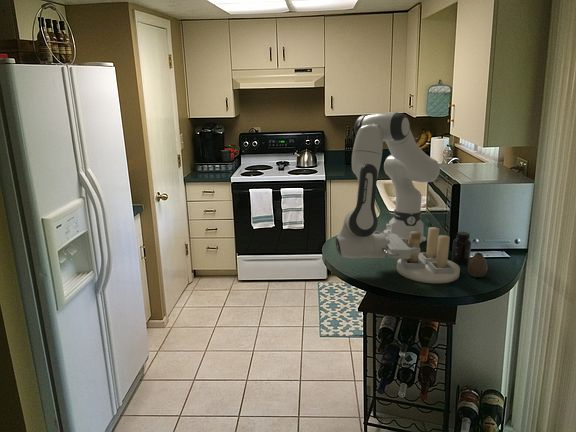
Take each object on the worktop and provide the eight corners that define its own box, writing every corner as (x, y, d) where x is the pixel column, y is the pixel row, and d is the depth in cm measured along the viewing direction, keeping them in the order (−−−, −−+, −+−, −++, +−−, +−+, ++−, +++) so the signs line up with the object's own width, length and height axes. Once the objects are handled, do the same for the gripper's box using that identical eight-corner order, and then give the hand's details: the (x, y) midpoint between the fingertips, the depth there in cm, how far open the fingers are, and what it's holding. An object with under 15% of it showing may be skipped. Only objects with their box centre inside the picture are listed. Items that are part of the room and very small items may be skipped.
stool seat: (389, 261, 195) (392, 224, 191) (445, 260, 197) (449, 223, 193) (407, 283, 173) (410, 242, 169) (469, 282, 175) (474, 241, 171)
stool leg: (405, 263, 186) (408, 231, 183) (416, 263, 186) (418, 231, 183) (408, 267, 182) (411, 234, 179) (419, 267, 182) (422, 234, 179)
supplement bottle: (447, 260, 198) (450, 231, 194) (460, 257, 200) (463, 230, 197) (459, 265, 192) (462, 236, 188) (472, 263, 194) (476, 234, 191)
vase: (472, 271, 186) (475, 249, 184) (489, 276, 181) (492, 254, 179) (463, 275, 182) (465, 253, 179) (480, 280, 177) (483, 258, 174)
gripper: (387, 246, 170) (425, 246, 171) (373, 230, 190) (408, 229, 191) (386, 263, 172) (424, 263, 173) (372, 245, 192) (406, 245, 193)
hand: (415, 245), depth 182 cm, fingers open, 8 cm apart
